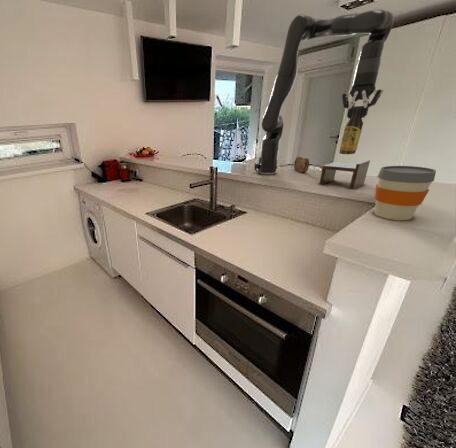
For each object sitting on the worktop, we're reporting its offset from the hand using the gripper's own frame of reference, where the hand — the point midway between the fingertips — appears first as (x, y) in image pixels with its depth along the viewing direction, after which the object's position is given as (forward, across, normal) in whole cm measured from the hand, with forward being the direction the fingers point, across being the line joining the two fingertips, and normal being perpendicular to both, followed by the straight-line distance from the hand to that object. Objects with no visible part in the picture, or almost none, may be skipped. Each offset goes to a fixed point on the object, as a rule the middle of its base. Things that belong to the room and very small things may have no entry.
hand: (356, 117), depth 106 cm
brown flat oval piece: (+30, +28, -18) cm, 45 cm away
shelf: (+29, 0, 0) cm, 29 cm away
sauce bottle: (+15, 0, 0) cm, 15 cm away
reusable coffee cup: (+29, -27, +32) cm, 52 cm away
